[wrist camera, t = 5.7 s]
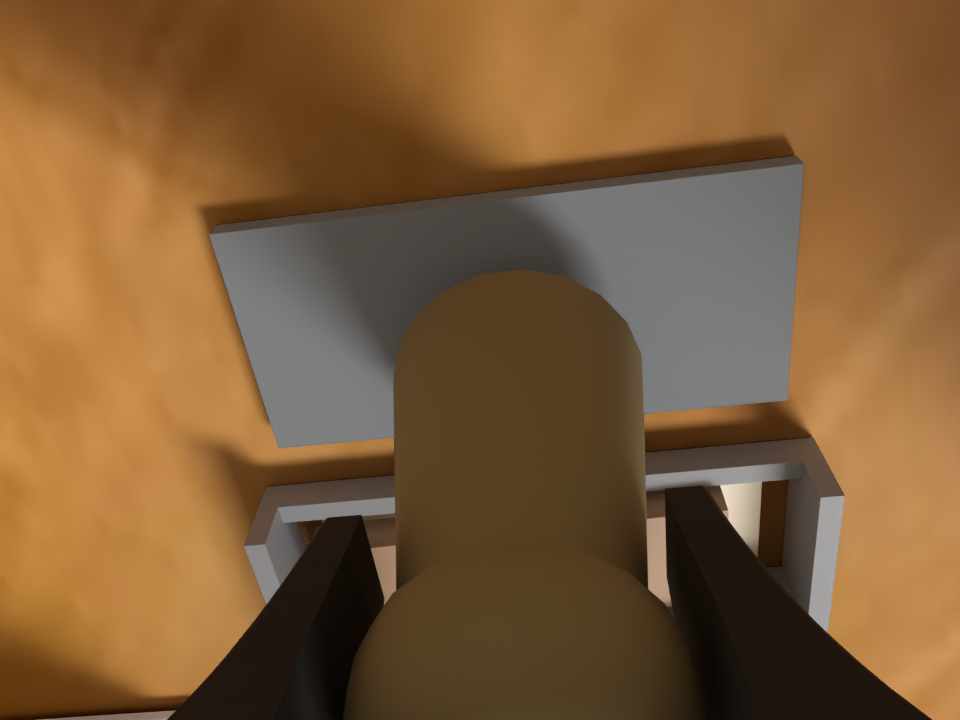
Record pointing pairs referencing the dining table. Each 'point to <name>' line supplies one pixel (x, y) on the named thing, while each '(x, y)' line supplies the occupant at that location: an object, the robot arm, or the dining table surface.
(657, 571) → the top offcut
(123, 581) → the dining table surface
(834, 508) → the rack
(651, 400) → the slate mat
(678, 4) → the dining table surface
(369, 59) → the dining table surface
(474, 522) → the cork
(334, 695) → the robot arm
